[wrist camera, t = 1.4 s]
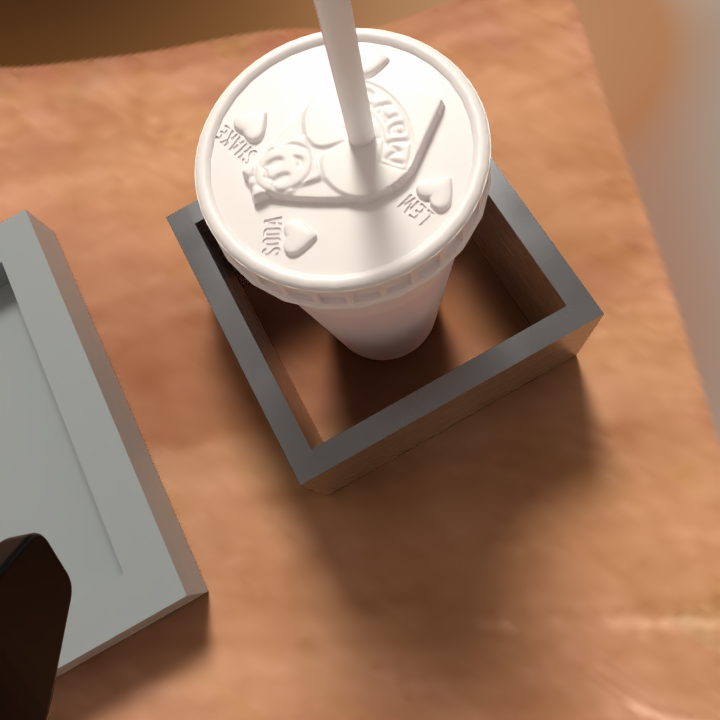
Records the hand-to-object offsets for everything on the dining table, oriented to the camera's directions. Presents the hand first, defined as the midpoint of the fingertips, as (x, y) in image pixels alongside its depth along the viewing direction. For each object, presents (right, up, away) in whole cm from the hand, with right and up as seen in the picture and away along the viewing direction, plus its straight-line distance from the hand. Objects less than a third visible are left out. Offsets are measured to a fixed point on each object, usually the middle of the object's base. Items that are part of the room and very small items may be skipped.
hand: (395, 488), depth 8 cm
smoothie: (0, +3, +15) cm, 15 cm away
